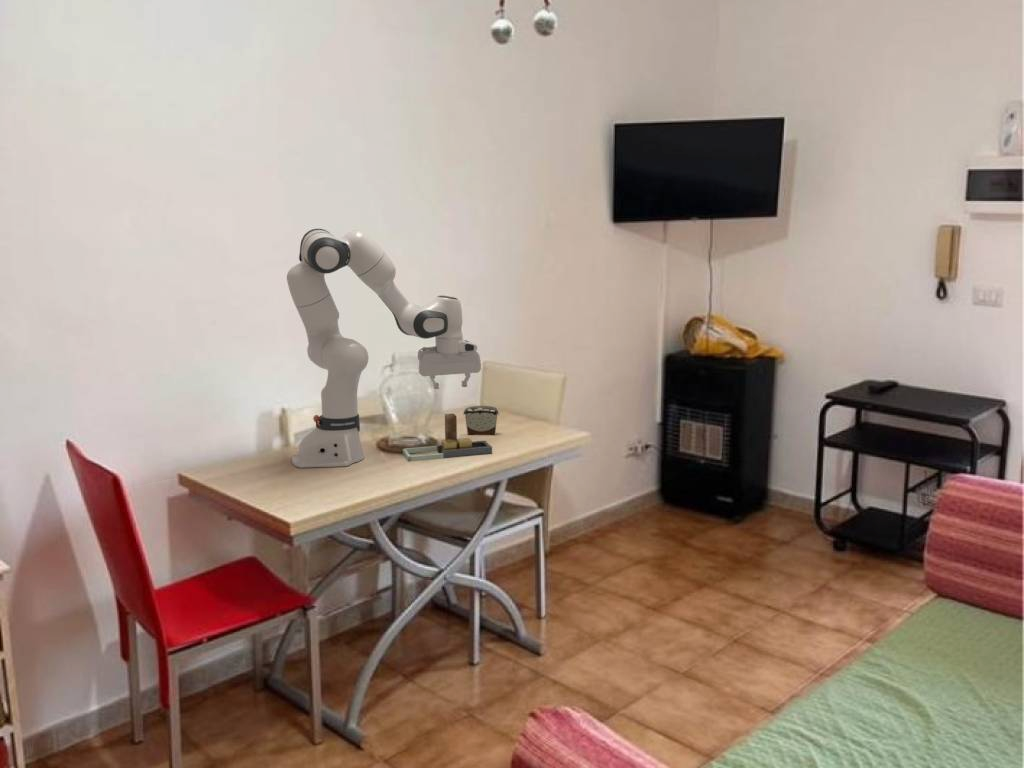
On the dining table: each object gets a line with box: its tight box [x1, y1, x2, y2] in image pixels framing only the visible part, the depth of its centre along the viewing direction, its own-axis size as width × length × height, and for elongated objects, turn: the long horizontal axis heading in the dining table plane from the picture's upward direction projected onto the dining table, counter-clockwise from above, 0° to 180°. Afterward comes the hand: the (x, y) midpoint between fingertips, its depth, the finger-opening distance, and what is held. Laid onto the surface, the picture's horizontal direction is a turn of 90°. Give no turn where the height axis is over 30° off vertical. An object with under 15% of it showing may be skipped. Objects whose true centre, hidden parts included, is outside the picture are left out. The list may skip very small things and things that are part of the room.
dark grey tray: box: [436, 440, 493, 459], centre depth 298 cm, size 16×10×3 cm, turn 107°
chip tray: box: [402, 445, 445, 462], centre depth 294 cm, size 11×10×2 cm
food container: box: [462, 405, 500, 436], centre depth 321 cm, size 12×6×10 cm, turn 84°
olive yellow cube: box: [457, 437, 473, 449], centre depth 297 cm, size 4×4×4 cm
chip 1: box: [440, 439, 457, 450], centre depth 296 cm, size 4×4×4 cm
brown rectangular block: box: [444, 413, 458, 442], centre depth 306 cm, size 3×4×11 cm
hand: (450, 387), depth 303 cm, fingers open, 8 cm apart
